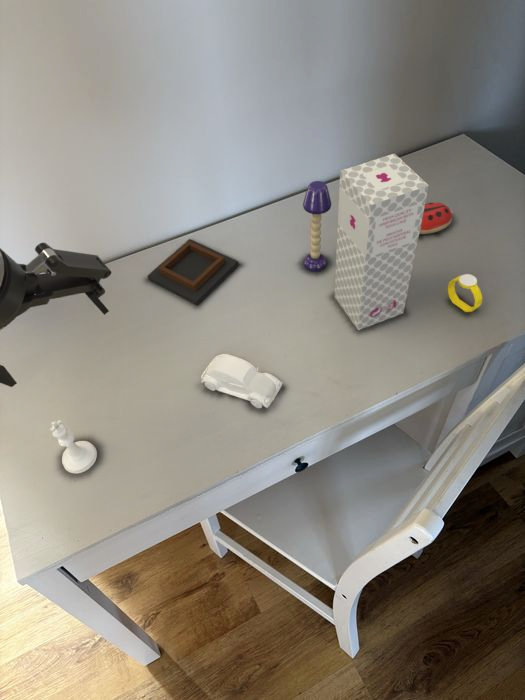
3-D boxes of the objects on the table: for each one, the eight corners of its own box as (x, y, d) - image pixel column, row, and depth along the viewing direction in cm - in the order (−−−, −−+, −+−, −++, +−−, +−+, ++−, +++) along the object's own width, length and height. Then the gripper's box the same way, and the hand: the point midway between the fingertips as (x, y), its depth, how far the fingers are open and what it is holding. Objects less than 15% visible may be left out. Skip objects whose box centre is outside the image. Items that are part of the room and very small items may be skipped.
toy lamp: (308, 252, 100) (307, 175, 87) (332, 256, 99) (335, 179, 86) (300, 269, 98) (298, 192, 84) (325, 274, 96) (327, 196, 83)
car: (199, 386, 83) (193, 368, 80) (220, 357, 87) (215, 339, 83) (266, 415, 79) (263, 398, 76) (285, 384, 82) (284, 366, 79)
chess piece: (104, 452, 78) (80, 417, 70) (79, 479, 75) (52, 446, 67) (80, 436, 80) (54, 400, 72) (56, 462, 77) (26, 428, 69)
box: (358, 330, 88) (371, 204, 68) (334, 296, 93) (340, 170, 73) (403, 313, 89) (428, 185, 70) (377, 280, 94) (394, 153, 75)
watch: (480, 312, 88) (490, 287, 83) (468, 320, 87) (477, 295, 83) (453, 291, 91) (460, 266, 87) (441, 299, 91) (448, 273, 86)
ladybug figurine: (395, 220, 104) (397, 205, 101) (440, 207, 105) (444, 192, 102) (412, 241, 100) (414, 226, 97) (459, 227, 101) (463, 212, 98)
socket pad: (148, 279, 99) (144, 270, 97) (190, 242, 104) (188, 232, 102) (197, 305, 94) (194, 295, 92) (238, 265, 100) (237, 255, 98)
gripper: (-148, 410, 41) (-15, 432, 62) (111, 217, 45) (155, 298, 66) (-199, 339, 42) (-51, 384, 63) (58, 157, 46) (118, 255, 67)
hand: (54, 340), depth 64 cm, fingers open, 13 cm apart
